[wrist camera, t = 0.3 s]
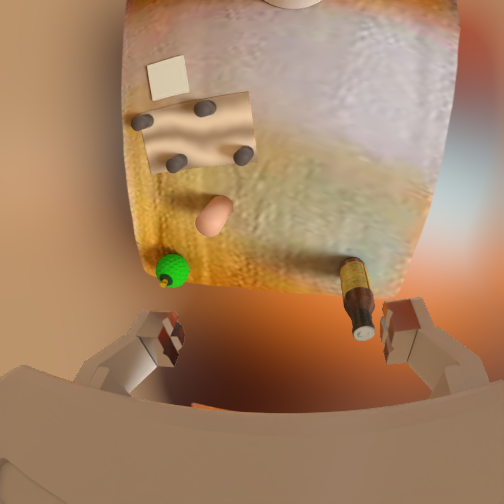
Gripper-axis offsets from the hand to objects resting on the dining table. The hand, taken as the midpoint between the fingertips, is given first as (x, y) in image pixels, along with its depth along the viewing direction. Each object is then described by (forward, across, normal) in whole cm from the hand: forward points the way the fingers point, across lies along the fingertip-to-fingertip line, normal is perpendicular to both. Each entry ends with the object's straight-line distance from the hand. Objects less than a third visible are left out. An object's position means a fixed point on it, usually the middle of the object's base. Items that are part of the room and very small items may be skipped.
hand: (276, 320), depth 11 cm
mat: (+48, +22, -15) cm, 55 cm away
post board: (+49, +19, -2) cm, 52 cm away
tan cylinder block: (+48, +17, +14) cm, 53 cm away
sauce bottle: (+46, -10, +31) cm, 57 cm away
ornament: (+49, +32, +27) cm, 64 cm away
